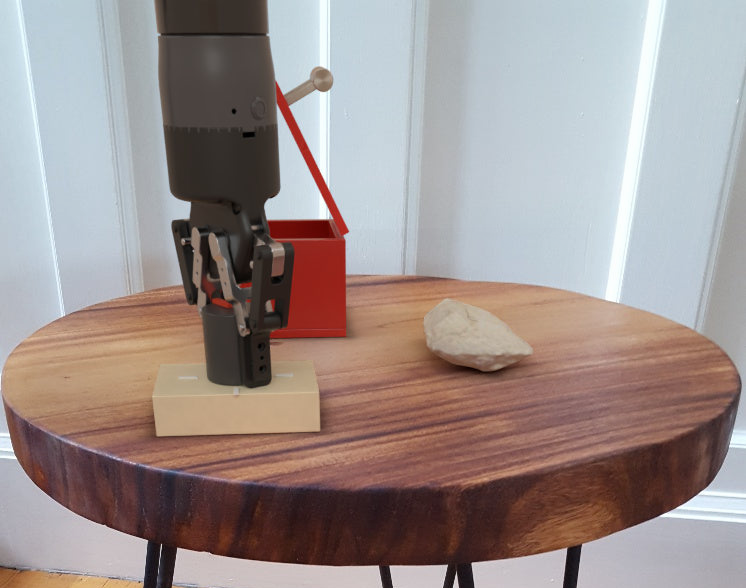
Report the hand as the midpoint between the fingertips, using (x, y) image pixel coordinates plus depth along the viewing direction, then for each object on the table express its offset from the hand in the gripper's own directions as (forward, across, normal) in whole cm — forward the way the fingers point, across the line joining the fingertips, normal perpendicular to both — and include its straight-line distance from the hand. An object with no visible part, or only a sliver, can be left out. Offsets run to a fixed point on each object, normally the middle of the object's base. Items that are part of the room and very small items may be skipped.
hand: (239, 375), depth 72 cm
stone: (+3, -2, +25) cm, 25 cm away
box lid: (-12, -21, +20) cm, 31 cm away
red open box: (+3, -23, +17) cm, 28 cm away
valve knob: (0, 0, 0) cm, 0 cm away
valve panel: (+3, 0, 0) cm, 3 cm away
